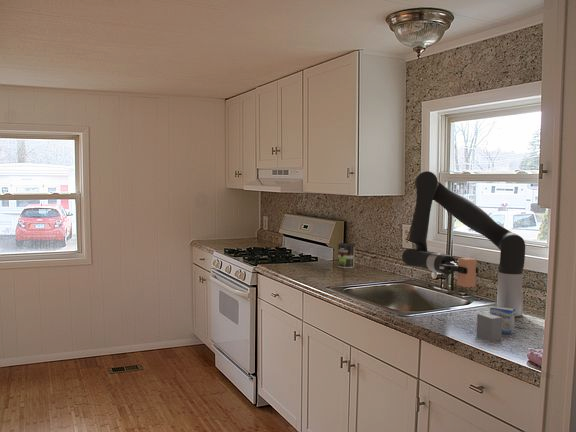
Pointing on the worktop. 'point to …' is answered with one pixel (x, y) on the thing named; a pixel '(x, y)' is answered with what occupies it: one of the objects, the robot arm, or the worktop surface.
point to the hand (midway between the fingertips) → (472, 270)
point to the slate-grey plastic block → (489, 327)
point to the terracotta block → (470, 277)
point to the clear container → (346, 255)
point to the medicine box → (505, 318)
